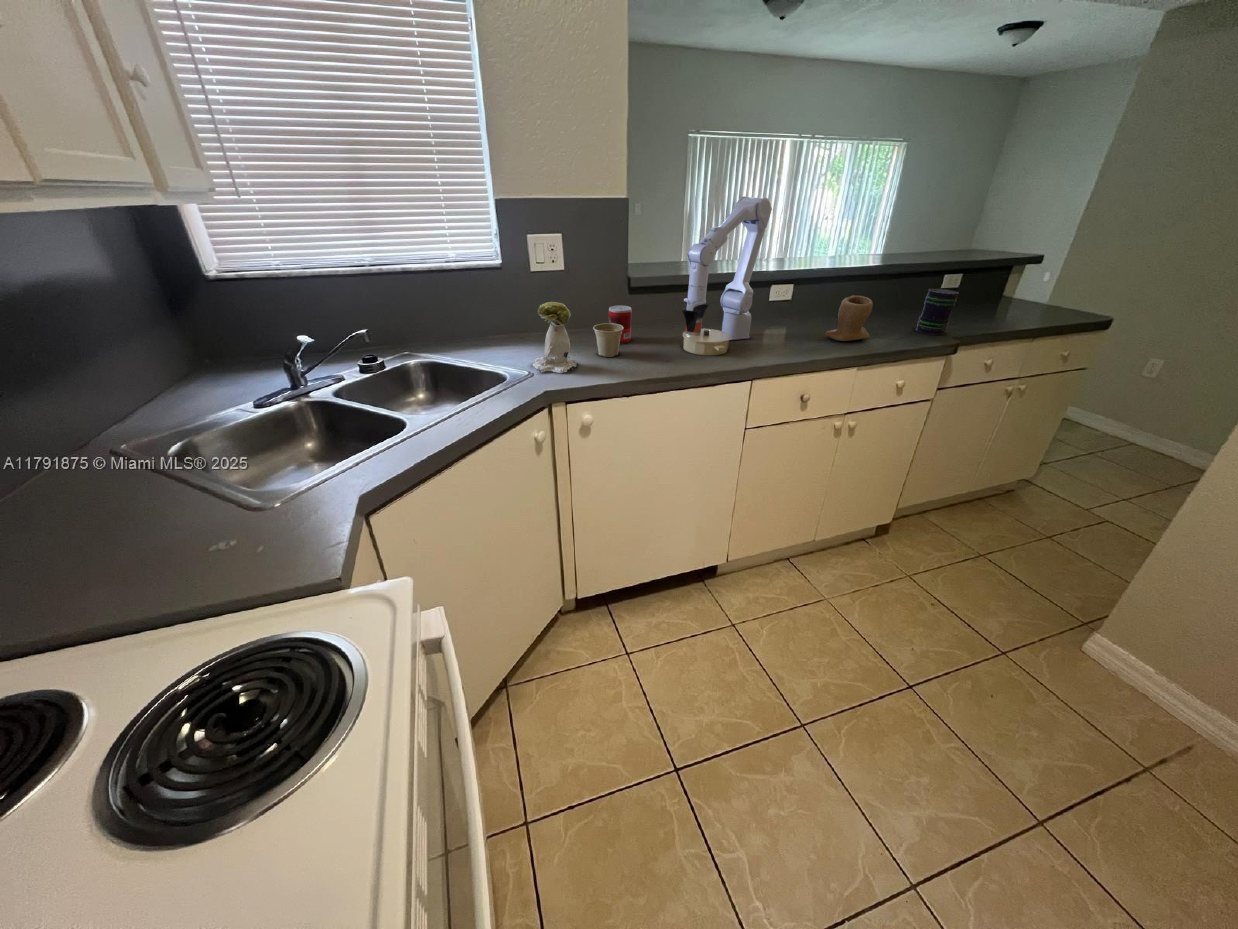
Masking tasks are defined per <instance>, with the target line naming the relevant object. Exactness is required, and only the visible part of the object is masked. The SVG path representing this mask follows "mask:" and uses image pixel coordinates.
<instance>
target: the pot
mask: <svg viewBox="0 0 1238 929" xmlns="http://www.w3.org/2000/svg"><path fill="white" fill-rule="evenodd" d="M682 338H683V339H682V348H683V351H685V352H687V353H691V354H693V355H698V356H699V355H701V356H719V355H723V354H726V353H727V352H728V348H729V343H730V340H729V341H727V342H723V343H714V344H709V343H699V342H693V341H690V340H687V339H685V338H684V337H683V336H682Z"/></svg>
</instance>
